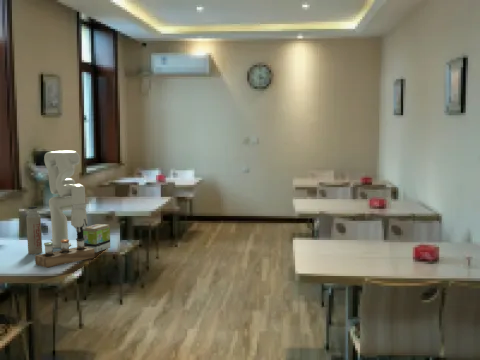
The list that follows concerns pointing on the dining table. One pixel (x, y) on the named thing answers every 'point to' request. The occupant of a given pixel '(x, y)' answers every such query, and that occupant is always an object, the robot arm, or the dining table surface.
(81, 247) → the plug
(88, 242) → the tea box
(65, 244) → the plug mid
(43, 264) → the socket block
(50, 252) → the plug
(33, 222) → the thermos bottle
